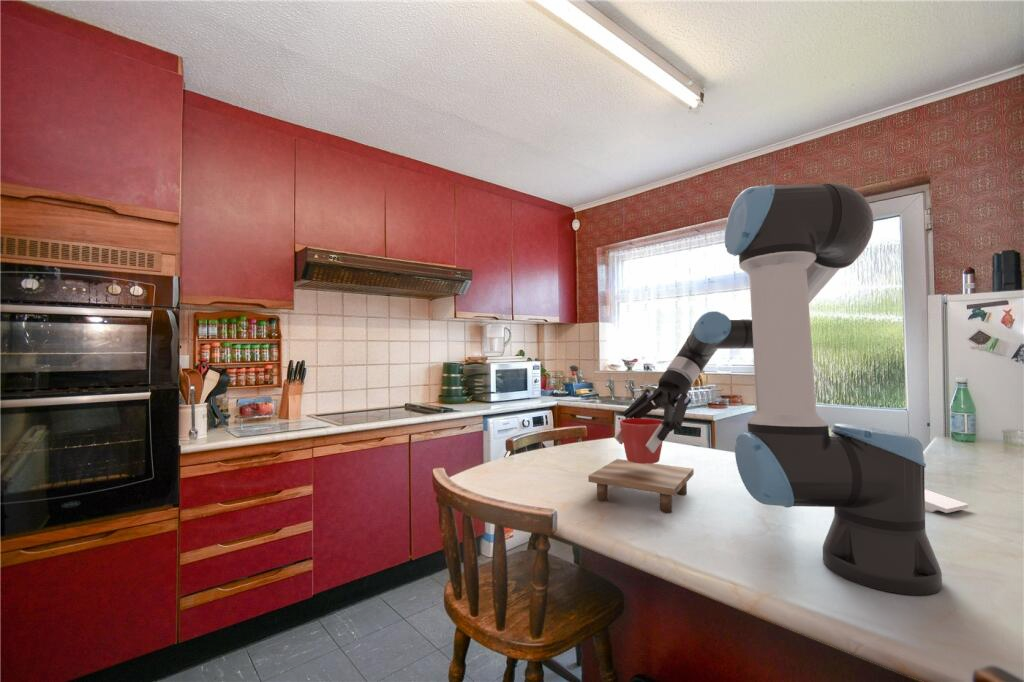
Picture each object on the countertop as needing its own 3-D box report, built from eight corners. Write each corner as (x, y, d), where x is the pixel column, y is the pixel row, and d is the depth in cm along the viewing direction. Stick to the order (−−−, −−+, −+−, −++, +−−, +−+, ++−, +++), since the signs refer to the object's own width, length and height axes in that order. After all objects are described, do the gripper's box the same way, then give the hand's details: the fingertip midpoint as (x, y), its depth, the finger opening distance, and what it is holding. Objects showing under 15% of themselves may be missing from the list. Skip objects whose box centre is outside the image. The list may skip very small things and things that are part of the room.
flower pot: (611, 457, 118) (611, 418, 118) (649, 453, 121) (648, 416, 121) (635, 467, 108) (634, 425, 108) (674, 463, 111) (674, 423, 111)
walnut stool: (674, 516, 100) (674, 488, 100) (588, 500, 111) (588, 475, 111) (693, 492, 117) (693, 468, 117) (617, 480, 128) (617, 458, 128)
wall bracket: (963, 536, 104) (836, 486, 129) (972, 505, 104) (843, 460, 129) (939, 532, 100) (813, 481, 126) (948, 499, 100) (821, 455, 126)
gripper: (723, 391, 112) (677, 464, 104) (653, 385, 132) (611, 445, 125) (708, 370, 109) (659, 443, 102) (639, 366, 130) (595, 427, 122)
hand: (633, 444), depth 113 cm, fingers closed on flower pot, 10 cm apart
